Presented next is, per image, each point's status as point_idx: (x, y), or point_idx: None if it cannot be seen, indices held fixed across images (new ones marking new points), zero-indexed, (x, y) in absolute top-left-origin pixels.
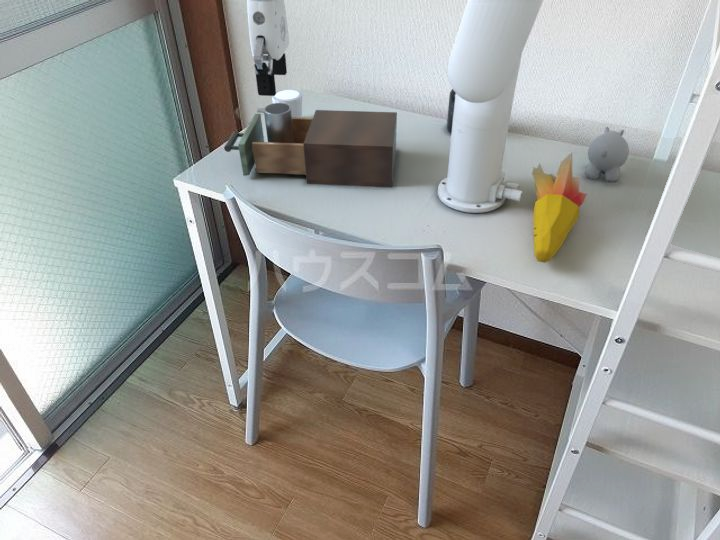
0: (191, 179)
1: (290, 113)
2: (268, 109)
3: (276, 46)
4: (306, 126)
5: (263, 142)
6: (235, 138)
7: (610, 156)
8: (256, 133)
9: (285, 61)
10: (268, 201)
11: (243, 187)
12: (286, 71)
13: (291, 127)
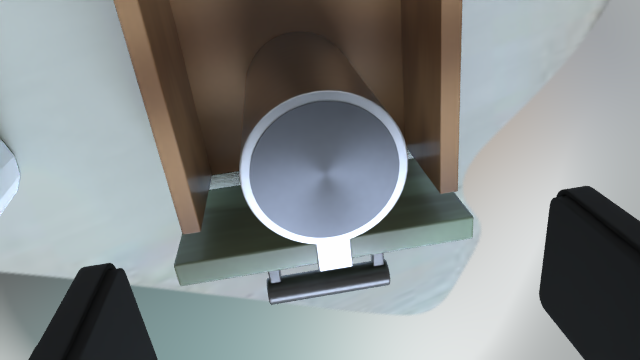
0: (433, 298)
1: (323, 83)
2: (353, 214)
3: None
4: (153, 21)
5: (444, 150)
6: (316, 278)
7: None
8: None
9: (50, 356)
10: (550, 39)
11: (467, 150)
12: (88, 276)
13: (320, 61)
